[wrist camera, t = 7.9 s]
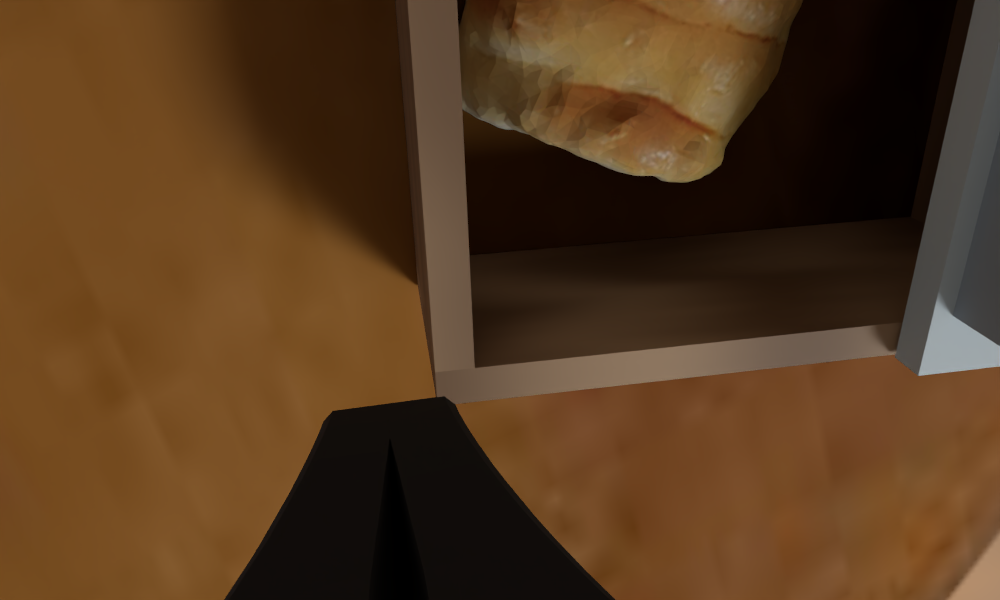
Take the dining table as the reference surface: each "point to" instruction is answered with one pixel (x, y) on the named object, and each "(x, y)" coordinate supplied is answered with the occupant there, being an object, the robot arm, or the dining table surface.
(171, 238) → the dining table surface
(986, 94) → the lid
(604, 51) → the pastry
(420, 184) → the walnut box
